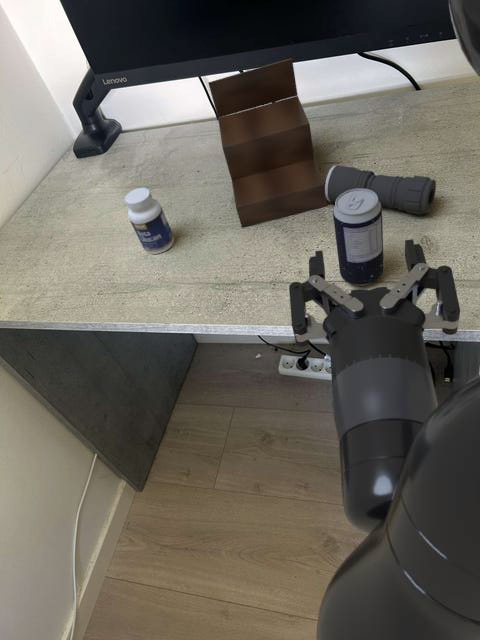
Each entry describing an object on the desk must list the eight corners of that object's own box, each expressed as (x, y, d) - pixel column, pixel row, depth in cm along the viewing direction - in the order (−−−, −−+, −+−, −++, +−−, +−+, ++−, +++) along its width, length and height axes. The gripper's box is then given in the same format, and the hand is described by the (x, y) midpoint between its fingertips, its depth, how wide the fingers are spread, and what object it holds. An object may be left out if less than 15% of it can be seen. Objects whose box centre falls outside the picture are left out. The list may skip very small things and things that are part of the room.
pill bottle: (144, 258, 79) (119, 210, 72) (144, 238, 83) (120, 190, 76) (175, 249, 79) (154, 199, 72) (174, 230, 83) (153, 180, 76)
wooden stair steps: (305, 147, 90) (291, 57, 78) (327, 205, 77) (315, 108, 66) (232, 167, 92) (208, 82, 80) (241, 227, 79) (215, 136, 67)
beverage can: (390, 265, 66) (389, 189, 57) (373, 294, 63) (369, 219, 54) (351, 256, 68) (344, 183, 60) (333, 283, 66) (323, 211, 57)
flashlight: (438, 200, 72) (440, 168, 68) (426, 223, 69) (428, 191, 65) (340, 187, 79) (338, 158, 75) (326, 208, 77) (323, 178, 73)
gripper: (488, 353, 33) (442, 210, 44) (282, 368, 36) (285, 231, 47) (475, 410, 39) (436, 270, 49) (296, 419, 42) (296, 286, 52)
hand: (363, 251), depth 48 cm, fingers open, 8 cm apart
